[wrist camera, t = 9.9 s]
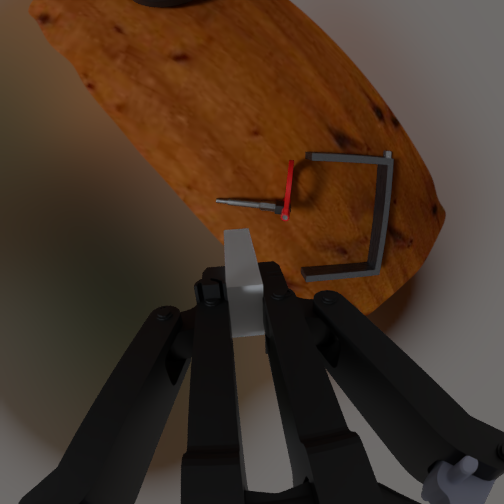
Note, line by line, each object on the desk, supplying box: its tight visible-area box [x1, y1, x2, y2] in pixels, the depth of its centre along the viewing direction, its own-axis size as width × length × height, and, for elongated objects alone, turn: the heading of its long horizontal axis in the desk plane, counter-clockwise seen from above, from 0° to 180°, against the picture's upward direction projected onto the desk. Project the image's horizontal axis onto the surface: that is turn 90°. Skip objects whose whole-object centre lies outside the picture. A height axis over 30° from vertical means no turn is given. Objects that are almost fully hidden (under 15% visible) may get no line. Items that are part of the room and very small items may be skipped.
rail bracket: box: [301, 151, 394, 282], centre depth 41 cm, size 21×14×3 cm, turn 1°
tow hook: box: [216, 160, 294, 221], centre depth 36 cm, size 7×10×7 cm
